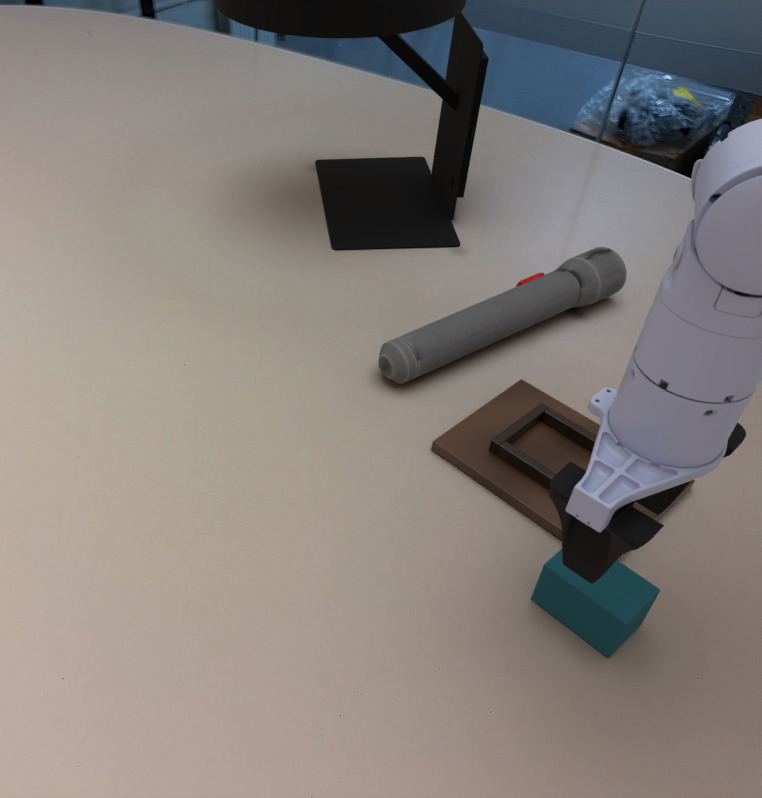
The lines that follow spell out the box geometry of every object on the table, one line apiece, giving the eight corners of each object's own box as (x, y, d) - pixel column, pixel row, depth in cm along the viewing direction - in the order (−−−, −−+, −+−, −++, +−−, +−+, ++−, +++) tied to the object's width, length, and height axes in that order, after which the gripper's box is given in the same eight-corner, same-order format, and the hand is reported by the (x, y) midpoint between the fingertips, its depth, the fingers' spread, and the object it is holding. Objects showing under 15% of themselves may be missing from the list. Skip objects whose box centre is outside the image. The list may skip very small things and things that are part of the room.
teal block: (641, 624, 55) (661, 589, 52) (608, 658, 53) (626, 624, 50) (563, 568, 58) (578, 533, 56) (530, 599, 56) (543, 564, 54)
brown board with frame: (691, 488, 63) (701, 469, 62) (604, 570, 58) (613, 552, 56) (518, 387, 73) (524, 368, 71) (430, 449, 67) (434, 430, 66)
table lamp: (477, 254, 89) (570, -194, 62) (222, 261, 89) (204, -181, 63) (432, 151, 108) (488, -226, 81) (221, 158, 108) (208, -216, 82)
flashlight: (389, 401, 74) (361, 355, 75) (606, 302, 83) (578, 263, 85) (411, 378, 69) (381, 330, 71) (638, 276, 79) (608, 235, 80)
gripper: (686, 277, 46) (615, 444, 56) (542, 391, 39) (488, 560, 49) (818, 333, 42) (718, 503, 52) (683, 470, 35) (596, 638, 45)
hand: (613, 535), depth 50 cm, fingers open, 7 cm apart
